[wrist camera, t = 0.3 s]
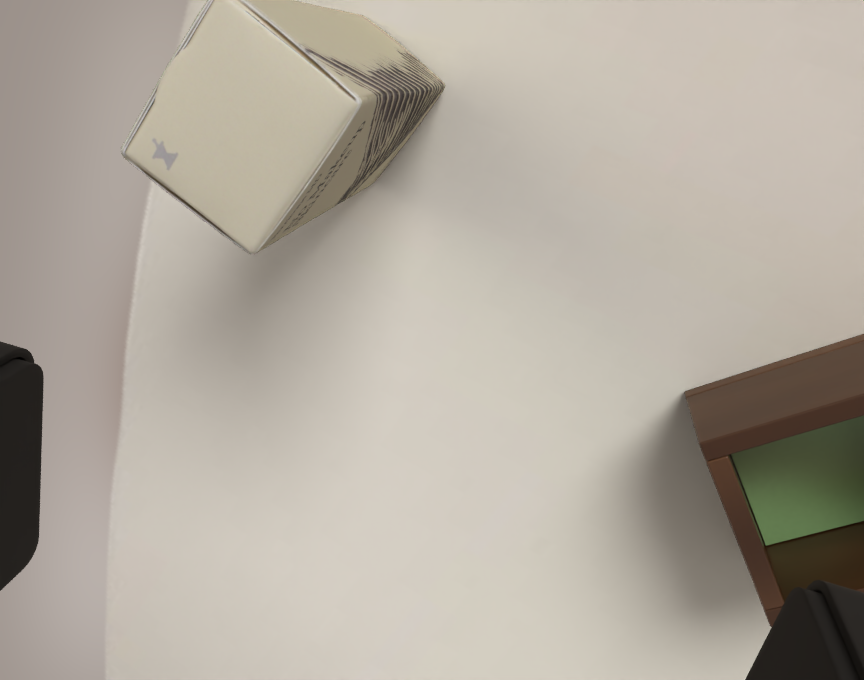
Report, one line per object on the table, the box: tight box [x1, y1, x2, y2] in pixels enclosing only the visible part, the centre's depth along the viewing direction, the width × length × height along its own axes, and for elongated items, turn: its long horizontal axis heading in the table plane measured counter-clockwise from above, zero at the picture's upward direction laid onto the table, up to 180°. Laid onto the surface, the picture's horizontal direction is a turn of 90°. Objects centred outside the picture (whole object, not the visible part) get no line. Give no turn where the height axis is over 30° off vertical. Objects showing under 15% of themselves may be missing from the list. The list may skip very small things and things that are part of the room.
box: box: [121, 0, 445, 254], centre depth 25 cm, size 5×4×13 cm
